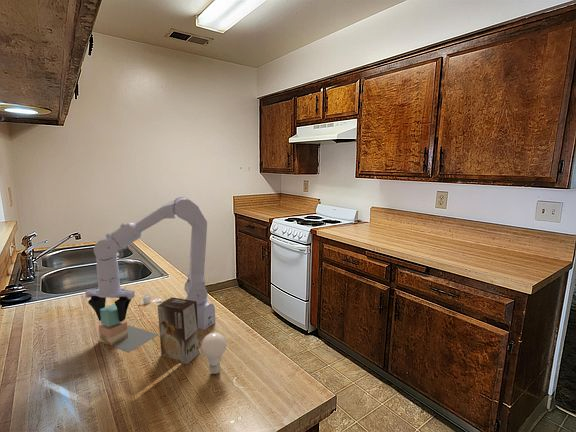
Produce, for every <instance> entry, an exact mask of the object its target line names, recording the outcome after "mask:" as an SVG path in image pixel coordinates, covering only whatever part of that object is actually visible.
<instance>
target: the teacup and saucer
mask: <svg viewBox="0 0 576 432" xmlns="http://www.w3.org/2000/svg"><path fill="white" fill-rule="evenodd" d="M141 299H142V300H141ZM151 300H153V301H151ZM139 301H140V302H139V303H142V304H143V305H147V304H150V303H157V304H161V302H162V298H155V299H152V294H144V295H142V296H141V297H140V299H139Z"/></svg>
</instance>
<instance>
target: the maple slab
mask: <svg viewBox="0 0 576 432" xmlns="http://www.w3.org/2000/svg"><path fill="white" fill-rule="evenodd" d="M98 334H99V333H98ZM127 337H128V331H127V330H125V331H123V332H121V333H119V334H118V335H116V336H114V337H112V338H110V337H107V336H105V335H102V334H99V340H100V341H101V342H103V343H102V344H104V343H106V344H105V345H107V344H109V345H114V344H116V343H117V342H119V341H121V340H123V339H125V338H127ZM101 342H100V343H101ZM109 345H108V346H109Z"/></svg>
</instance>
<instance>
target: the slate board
mask: <svg viewBox="0 0 576 432" xmlns="http://www.w3.org/2000/svg"><path fill="white" fill-rule="evenodd" d="M127 331H128V337H127V338H125V339H123V340H121V341H119V342H117V343H116V344H114V345H109V344H106V343H103V342H101V341H100V339H98V341H97V342H99V343H101V344H104V345H106V346H110V347H112V348H116V349H117V350H121V351H124V352H126V353H130V352H132V351H134V350H135V349H136V350H137V348H139V347H140V346H142V345H144V344H146V343H148V342H149V341H151V340H153V339H155V338H156V337H158V336H160V333H159V334H158V333H154V332H152V331H148V330H145V329H142V328H139V327H135V326H132V325H130V324H129V325H127Z"/></svg>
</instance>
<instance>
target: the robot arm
mask: <svg viewBox="0 0 576 432" xmlns="http://www.w3.org/2000/svg"><path fill="white" fill-rule="evenodd" d="M175 215H176V216H177V217H178V218H179V219H181V220H183V221H186V222H187V223H188V224H189V225H190V226H191V233H190V249H189V250H190V254H189V269H188V270H189V271H188V274H187V279H186V282H185V283H184V291H185V293H186V295H187V296H186V298H185V300H191V301H197V319H198V330H202V331H205V330H206V329H208V328H209V327H211V326H212V325H214V324H215V323H216V307H215V304H213V302H210V301H209V300H208V289H207V288H206V278H205V267H206V266H205V265H206V252H207V251H206V250H207V249H206V248H207V233H208V231H207V230H208V221H207V219H206V218H205V216H204V214H203V212H202V211H201V209H200V208H199V206H198V204H196V203H195V202H193V201H192V200H190V199H189V198H187V197H185V196H179V197H177V198H175V199H174V200H171V201H168V202H167V203H165V204H162V205H161V206H160V207H158V208H157V209H155V210H153V211H152V212H151V213H149V214H148V215H145V216H144V217H143V218H141V219H140V220H138V221H137V222H127V223H125V222H124V223H121V224H120V225H119V226H120V227H118V228H117V229H115V230H114V231H113V232H108V233H106V234H105V236H104V237H101V238H99V239H98V240H97V241H96V243H95V245H94V246H93V254H94V256H95V262H96V264H95V267H96V268H95V269H96V275H97V277H96V278H97V286H98V288H93V289H92V288H90V289H87V290H86V291H85V293H84V294H85V298H86V299H88V298H90V299H89V300H87V301H88V305H90V307H92V309H93V310H94V312H95V314H96V316H97V319H98V321H99V322H101V317H100V309H102V308H105V307H106V302H107V301H106V300H107V298H109V299H111V298H114V299H116V300H115V301H114V304H115V305H116V307H117V310H118V317H119V321H120V322H122V321H123V320H124V321H125V320H126V319H127V318H126V317H127V311H128V308H129V305H130V303H131V302H132V299H134V298H135V297H136V296H135V290H130V289H126V288H121V283H120V282H121V281H120V271H119V261H118V256H117V252H118V251H122V250H123V249H124V248H127V247H128V246H130V245H131V244H132V243H135V242H137V240H139V239H141V236H142V232H144V231H145V230H147V229H150V228H151V227H152V226H153V227H154V226H155V225H156V224H158V223H159V222H161V221H163V220H165V219H176V217H175Z"/></svg>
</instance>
